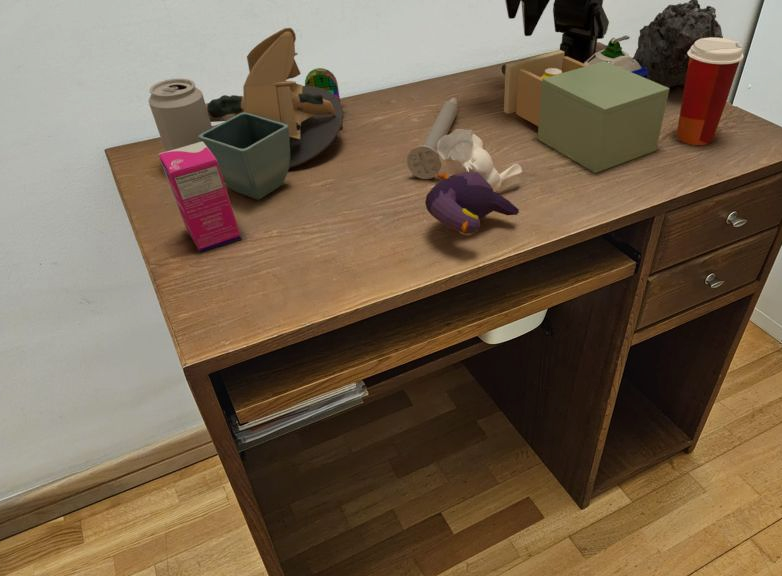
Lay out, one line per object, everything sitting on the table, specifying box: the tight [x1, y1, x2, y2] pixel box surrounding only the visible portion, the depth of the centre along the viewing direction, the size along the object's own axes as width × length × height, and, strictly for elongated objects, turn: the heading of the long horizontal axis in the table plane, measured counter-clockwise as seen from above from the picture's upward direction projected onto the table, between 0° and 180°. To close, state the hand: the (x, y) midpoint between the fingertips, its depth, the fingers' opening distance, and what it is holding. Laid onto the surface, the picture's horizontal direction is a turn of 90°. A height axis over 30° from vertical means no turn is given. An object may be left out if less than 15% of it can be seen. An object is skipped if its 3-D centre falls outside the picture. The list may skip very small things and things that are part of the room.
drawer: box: [500, 49, 588, 128], centre depth 106 cm, size 18×11×8 cm, turn 33°
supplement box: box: [157, 141, 242, 253], centre depth 80 cm, size 6×6×12 cm
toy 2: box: [424, 172, 520, 236], centre depth 82 cm, size 11×12×7 cm
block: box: [304, 67, 344, 129], centre depth 106 cm, size 12×8×7 cm
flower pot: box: [198, 112, 290, 200], centre depth 90 cm, size 9×9×9 cm
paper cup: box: [676, 37, 744, 146], centre depth 98 cm, size 8×8×14 cm
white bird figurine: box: [437, 128, 523, 193], centre depth 89 cm, size 12×8×10 cm
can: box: [147, 77, 213, 152], centre depth 95 cm, size 8×8×12 cm
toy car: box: [584, 35, 649, 79], centre depth 111 cm, size 9×12×10 cm
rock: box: [632, 0, 724, 88], centre depth 112 cm, size 16×14×15 cm
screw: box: [406, 97, 459, 180], centre depth 102 cm, size 5×26×5 cm
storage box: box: [537, 61, 670, 174], centre depth 98 cm, size 14×13×10 cm
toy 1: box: [205, 27, 344, 169], centre depth 95 cm, size 18×20×15 cm
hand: (519, 26), depth 106 cm, fingers open, 9 cm apart
